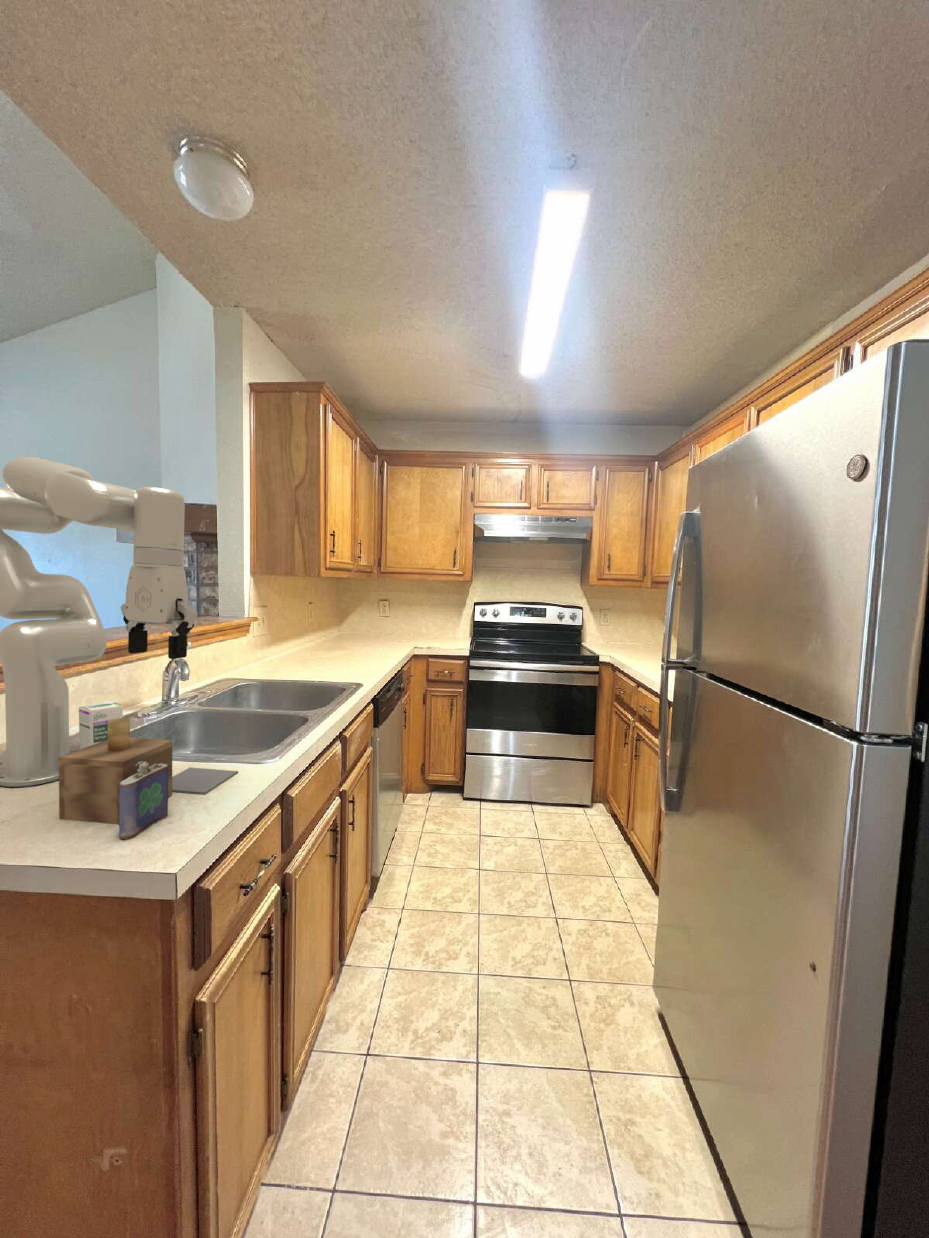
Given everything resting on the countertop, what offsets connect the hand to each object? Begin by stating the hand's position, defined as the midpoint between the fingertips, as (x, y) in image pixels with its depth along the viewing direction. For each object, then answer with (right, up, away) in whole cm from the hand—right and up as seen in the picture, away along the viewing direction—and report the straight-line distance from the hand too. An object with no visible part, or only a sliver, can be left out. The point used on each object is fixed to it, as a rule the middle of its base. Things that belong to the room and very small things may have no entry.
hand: (157, 655), depth 85 cm
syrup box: (-20, -26, +13) cm, 35 cm away
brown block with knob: (-6, -27, -1) cm, 28 cm away
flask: (+2, -28, -7) cm, 29 cm away
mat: (+1, -27, +11) cm, 29 cm away
